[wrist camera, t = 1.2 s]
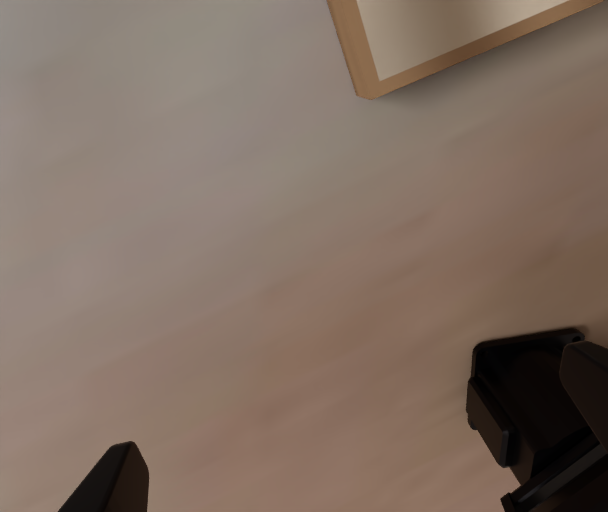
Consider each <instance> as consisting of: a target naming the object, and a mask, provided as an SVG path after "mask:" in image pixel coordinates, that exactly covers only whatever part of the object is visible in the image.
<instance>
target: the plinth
mask: <svg viewBox="0 0 608 512" xmlns="http://www.w3.org/2000/svg"><path fill="white" fill-rule="evenodd" d="M603 1H604V0H327V3H328V6H329V9H330V13H331V16H332V19H333V22H334V25H335V28H336V32H337V35H338V38H339V41H340V44H341V47H342V51H343V54H344V57H345V60H346V63H347V67H348V70H349V73H350V76H351V79H352V82H353V86H354V89H355V92H356V95H357V96H360V97H363V98H366V99H369V100H372V99H375V98H377V97H379V96H382V95H384V94H386V93H389V92H391V91H393V90H396V89H398V88H401V87H403V86H405V85H408V84H410V83H412V82H415V81H417V80H419V79H422V78H424V77H426V76H429V75H431V74H433V73H436V72H438V71H440V70H443V69H445V68H448V67H450V66H452V65H455V64H457V63H459V62H462V61H464V60H466V59H469V58H471V57H473V56H476V55H478V54H480V53H483V52H485V51H488V50H490V49H492V48H495V47H497V46H499V45H502V44H504V43H506V42H509V41H511V40H513V39H516V38H518V37H520V36H523V35H525V34H527V33H530V32H532V31H535V30H537V29H539V28H542V27H544V26H546V25H549V24H551V23H553V22H556V21H558V20H560V19H563V18H565V17H567V16H570V15H572V14H575V13H577V12H579V11H582V10H584V9H586V8H589V7H591V6H593V5H596V4H598V3H600V2H603Z"/></svg>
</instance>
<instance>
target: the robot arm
mask: <svg viewBox="0 0 608 512" xmlns="http://www.w3.org/2000/svg"><path fill="white" fill-rule="evenodd" d="M584 339H585V336H584V334H583V333H582V332H580V331H579V330H578V329H568V330H562V331H556V332H549V333H543V334H537V335H531V336H524V337H518V338H512V339H506V340H499V341H493V342H487V343H481V344H478V345H477V346H475V348H474V349H473V354H472V368H471V377H470V379H469V381H468V389H467V403H466V412H467V413H468V423H469V425H470V427H471V428H472V429H473V430H478V432H479V433H480V435H481V437H482V438H483V440H484V442H485V443H486V445H487V447H488V448H489V450H490V452H491V453H492V455H493V457H494V458H495V460H496V462H497V463H498V465H500V466H501V467H503V468H507V467H510V469H511V470H512V472H513V474H514V475H515V477H516V478H517V480H518V482H519V483H520V485H521V486H520V487H519V488H517V489H516V490H515V491H513V492H512V493H509V492H508V493H507V494H506V495H504V496H503V497H502V498H501V502H502V505H503V508H504V511H505V512H608V349H607V348H604V347H602V346H599V345H597V344H594V343H592V342H589V341H584ZM483 351H485V352H483ZM482 352H483V353H482ZM481 353H482V354H481ZM148 488H149V471H148V467H147V465H146V463H145V461H144V459H143V457H142V455H141V453H140V451H139V449H138V447H137V445H136V444H135V443H134V442H133V441H128V442H124V443H119V444H115V445H113V446H111V447H110V448H109V449H108V450H107V451H106V453H105V454H104V455H103V456H102V457H101V459H100V460H99V461H98V462H97V464H96V465H95V466H94V467H93V469H92V470H91V471H90V472H89V474H88V475H87V476H86V477H85V479H84V480H83V481H82V482H81V483H80V485H79V486H78V487H77V488H76V490H75V491H74V492H73V493H72V495H71V496H70V497H69V498H68V500H67V501H66V502H65V503H64V504H63V506H62V507H61V508H60V509H59V511H58V512H147V504H148Z"/></svg>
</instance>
